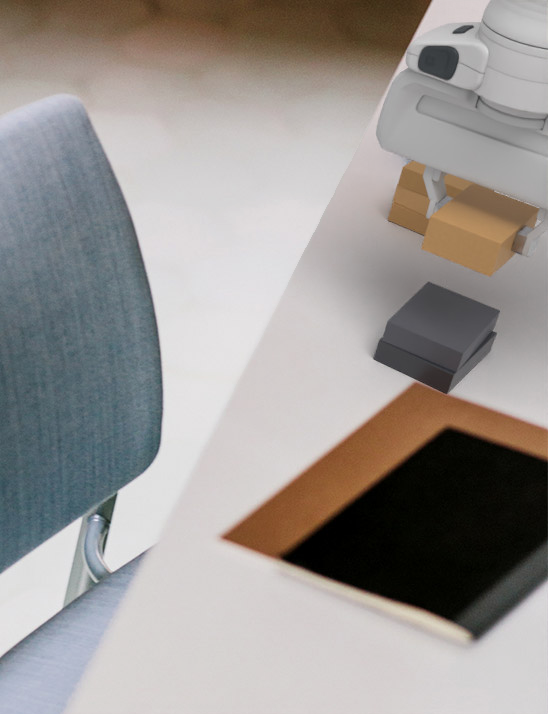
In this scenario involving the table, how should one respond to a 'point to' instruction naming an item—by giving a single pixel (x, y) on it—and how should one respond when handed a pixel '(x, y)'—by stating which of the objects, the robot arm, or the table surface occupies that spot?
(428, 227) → the tan rectangular block
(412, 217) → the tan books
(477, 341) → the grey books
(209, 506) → the table surface
